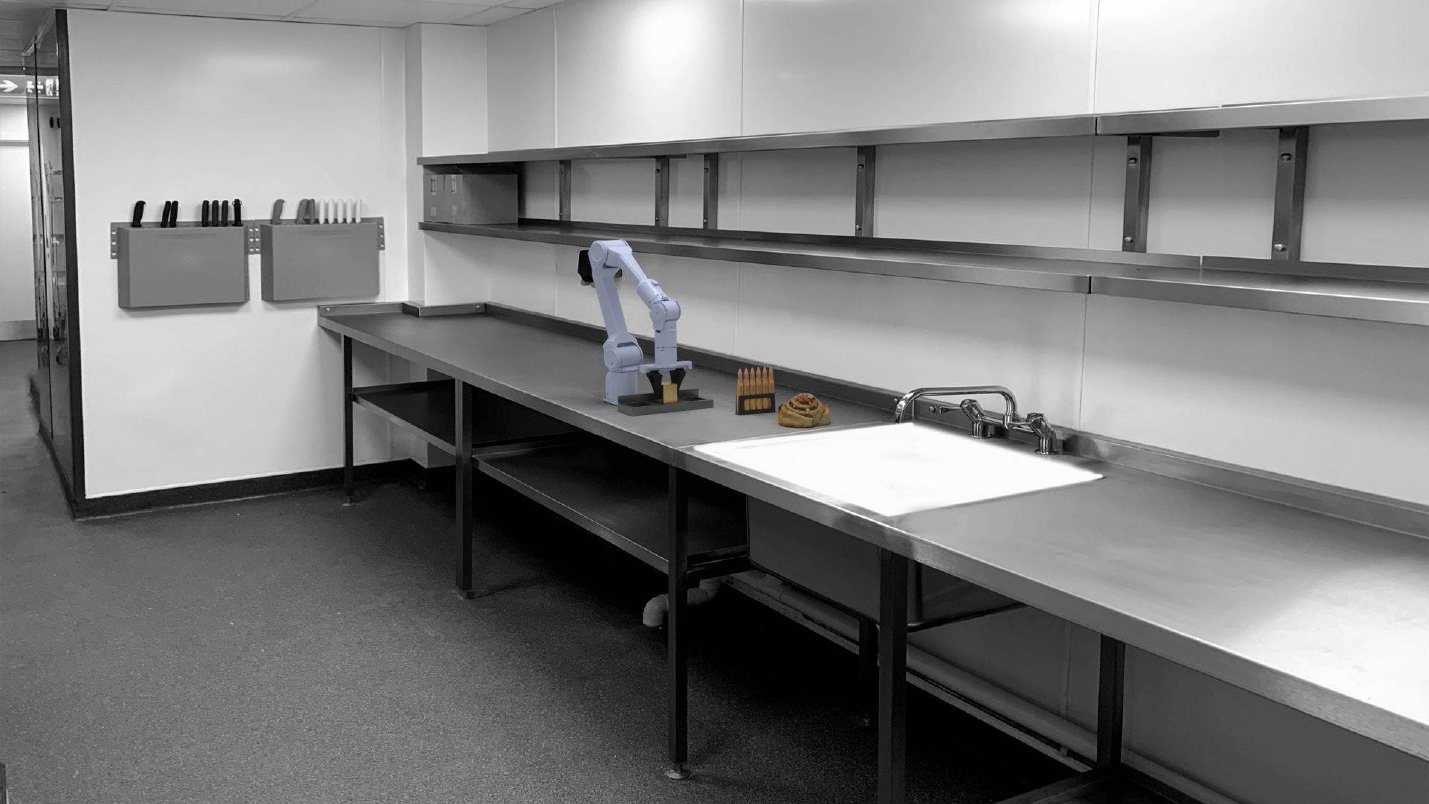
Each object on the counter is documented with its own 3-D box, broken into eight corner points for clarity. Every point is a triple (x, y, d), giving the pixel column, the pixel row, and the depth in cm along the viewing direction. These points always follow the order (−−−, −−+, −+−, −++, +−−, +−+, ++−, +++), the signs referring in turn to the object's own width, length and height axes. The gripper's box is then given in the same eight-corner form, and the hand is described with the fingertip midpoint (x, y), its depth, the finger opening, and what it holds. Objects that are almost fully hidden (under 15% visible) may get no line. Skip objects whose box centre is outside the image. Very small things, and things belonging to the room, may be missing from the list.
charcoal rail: (617, 410, 314) (617, 395, 314) (697, 402, 326) (697, 387, 325) (632, 416, 307) (632, 400, 306) (713, 407, 319) (713, 392, 318)
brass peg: (656, 409, 317) (656, 383, 316) (670, 407, 319) (669, 381, 318) (663, 411, 313) (663, 385, 312) (677, 410, 315) (676, 383, 314)
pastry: (782, 429, 290) (782, 397, 288) (772, 418, 304) (772, 387, 303) (836, 428, 291) (836, 395, 289) (824, 417, 306) (824, 386, 304)
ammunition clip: (738, 415, 307) (738, 369, 305) (735, 414, 309) (735, 368, 307) (775, 412, 312) (775, 366, 309) (772, 411, 313) (772, 365, 311)
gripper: (647, 350, 306) (648, 402, 309) (697, 346, 314) (697, 397, 316) (635, 347, 312) (636, 398, 315) (684, 343, 320) (684, 393, 322)
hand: (666, 398), depth 316 cm, fingers open, 4 cm apart
